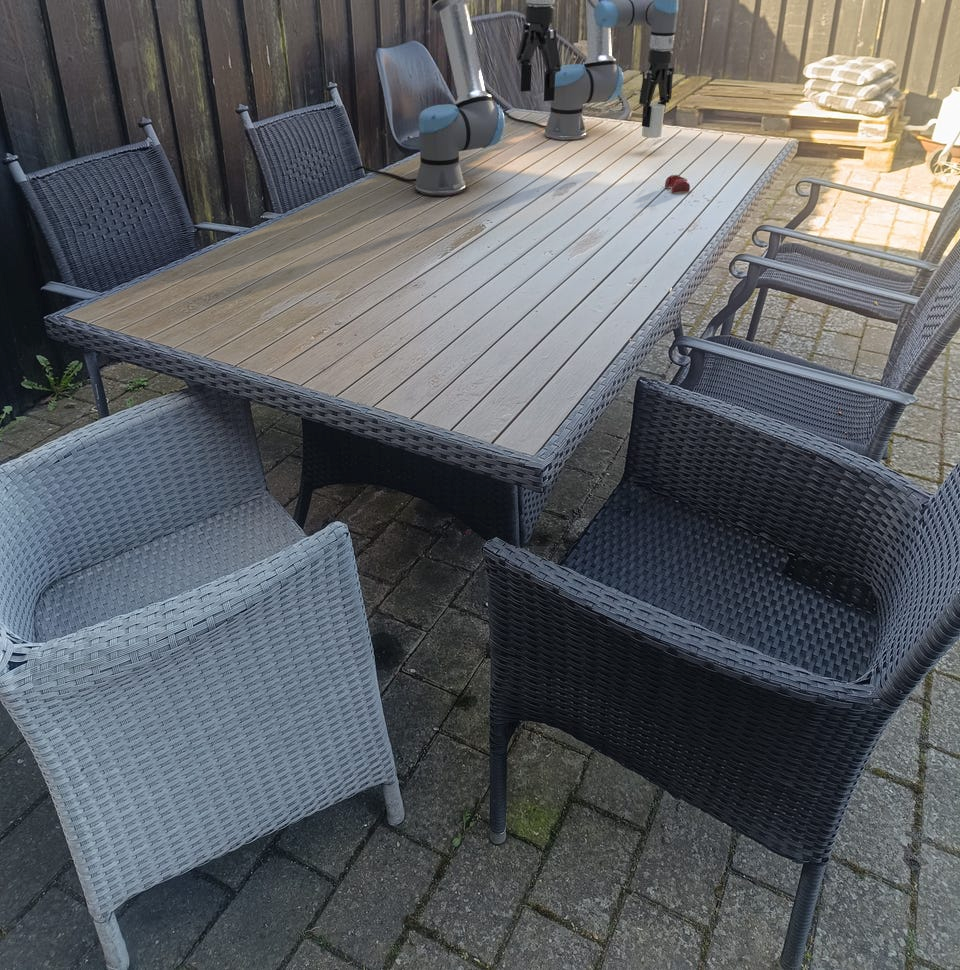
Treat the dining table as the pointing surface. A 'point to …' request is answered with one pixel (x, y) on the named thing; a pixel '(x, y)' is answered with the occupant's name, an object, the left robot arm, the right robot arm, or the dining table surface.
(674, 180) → the dental model
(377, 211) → the dining table surface
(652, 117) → the canister
